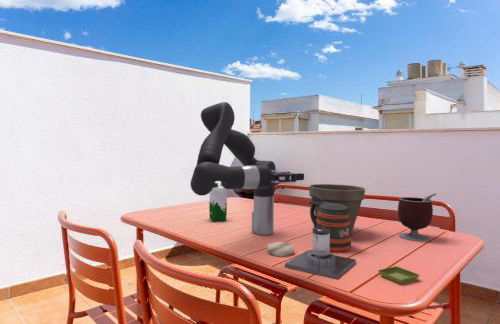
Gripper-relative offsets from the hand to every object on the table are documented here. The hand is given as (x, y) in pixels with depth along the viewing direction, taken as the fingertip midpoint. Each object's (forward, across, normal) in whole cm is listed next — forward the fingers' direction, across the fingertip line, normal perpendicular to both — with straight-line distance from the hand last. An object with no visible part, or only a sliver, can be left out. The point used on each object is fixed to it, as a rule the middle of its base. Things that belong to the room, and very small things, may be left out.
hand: (296, 175), depth 117 cm
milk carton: (-1, +74, +30) cm, 80 cm away
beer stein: (+23, +12, +30) cm, 40 cm away
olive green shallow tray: (+22, -24, +31) cm, 45 cm away
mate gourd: (+67, +6, +30) cm, 74 cm away
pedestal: (+1, +12, +30) cm, 32 cm away
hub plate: (+7, -5, +30) cm, 31 cm away
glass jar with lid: (+7, -5, +29) cm, 30 cm away
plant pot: (+40, +28, +30) cm, 57 cm away
